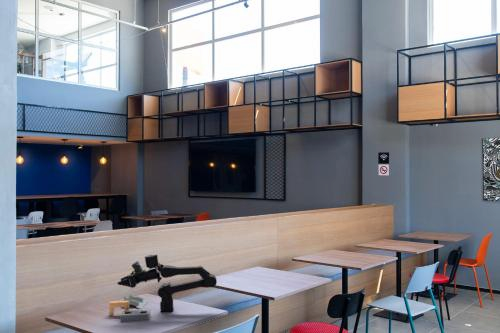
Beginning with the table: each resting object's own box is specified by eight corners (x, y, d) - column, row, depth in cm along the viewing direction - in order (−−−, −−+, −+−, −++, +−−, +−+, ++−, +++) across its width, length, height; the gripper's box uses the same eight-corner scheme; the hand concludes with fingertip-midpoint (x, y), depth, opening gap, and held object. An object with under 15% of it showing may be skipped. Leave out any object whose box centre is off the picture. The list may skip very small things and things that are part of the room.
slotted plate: (150, 315, 251) (150, 309, 251) (148, 320, 243) (148, 314, 243) (123, 316, 249) (123, 310, 249) (120, 321, 241) (120, 315, 241)
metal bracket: (119, 298, 265) (129, 291, 280) (116, 308, 265) (126, 301, 280) (143, 306, 263) (152, 298, 278) (141, 316, 263) (149, 308, 278)
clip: (129, 312, 256) (129, 300, 256) (128, 314, 253) (128, 302, 253) (110, 313, 255) (110, 301, 255) (109, 315, 252) (109, 302, 253)
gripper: (147, 257, 268) (119, 263, 266) (143, 263, 249) (113, 270, 248) (151, 277, 268) (123, 283, 266) (147, 284, 249) (117, 291, 248)
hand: (119, 281), depth 257 cm, fingers open, 9 cm apart
